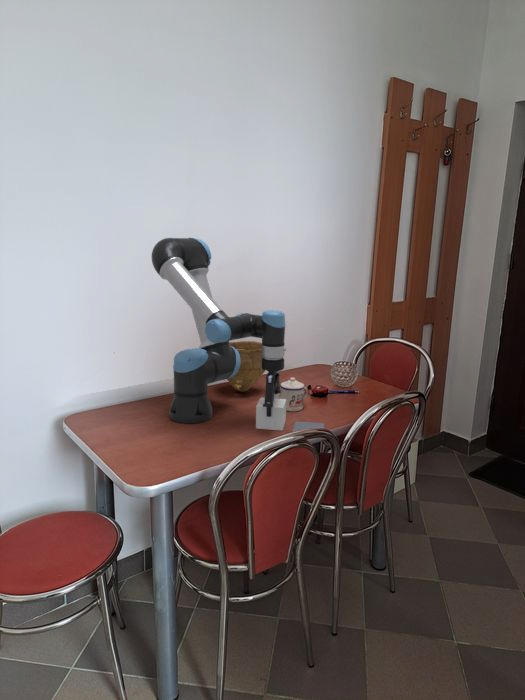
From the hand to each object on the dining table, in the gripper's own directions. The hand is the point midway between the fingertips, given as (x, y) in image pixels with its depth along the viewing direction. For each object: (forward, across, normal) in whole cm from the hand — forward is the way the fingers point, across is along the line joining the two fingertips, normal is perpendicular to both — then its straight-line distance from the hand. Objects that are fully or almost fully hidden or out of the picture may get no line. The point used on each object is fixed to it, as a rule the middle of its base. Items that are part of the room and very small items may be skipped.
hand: (272, 418), depth 172 cm
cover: (+2, 0, 0) cm, 2 cm away
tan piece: (+2, +34, +17) cm, 38 cm away
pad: (+3, -1, -13) cm, 13 cm away
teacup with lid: (+3, +20, -6) cm, 21 cm away
